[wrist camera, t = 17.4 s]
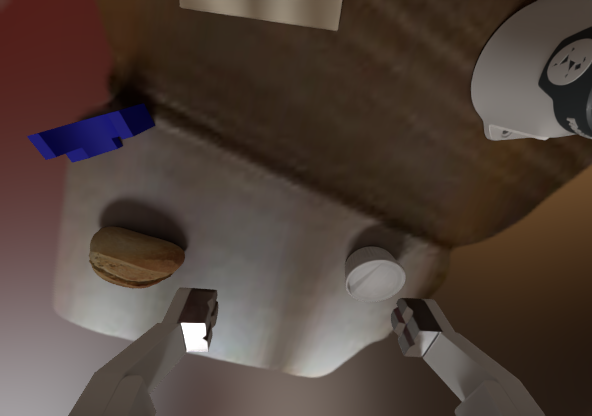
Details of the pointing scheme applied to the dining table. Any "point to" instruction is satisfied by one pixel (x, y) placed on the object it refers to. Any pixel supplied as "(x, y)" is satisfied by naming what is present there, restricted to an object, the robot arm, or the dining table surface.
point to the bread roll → (133, 257)
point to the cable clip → (93, 134)
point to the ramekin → (373, 274)
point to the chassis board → (276, 10)
